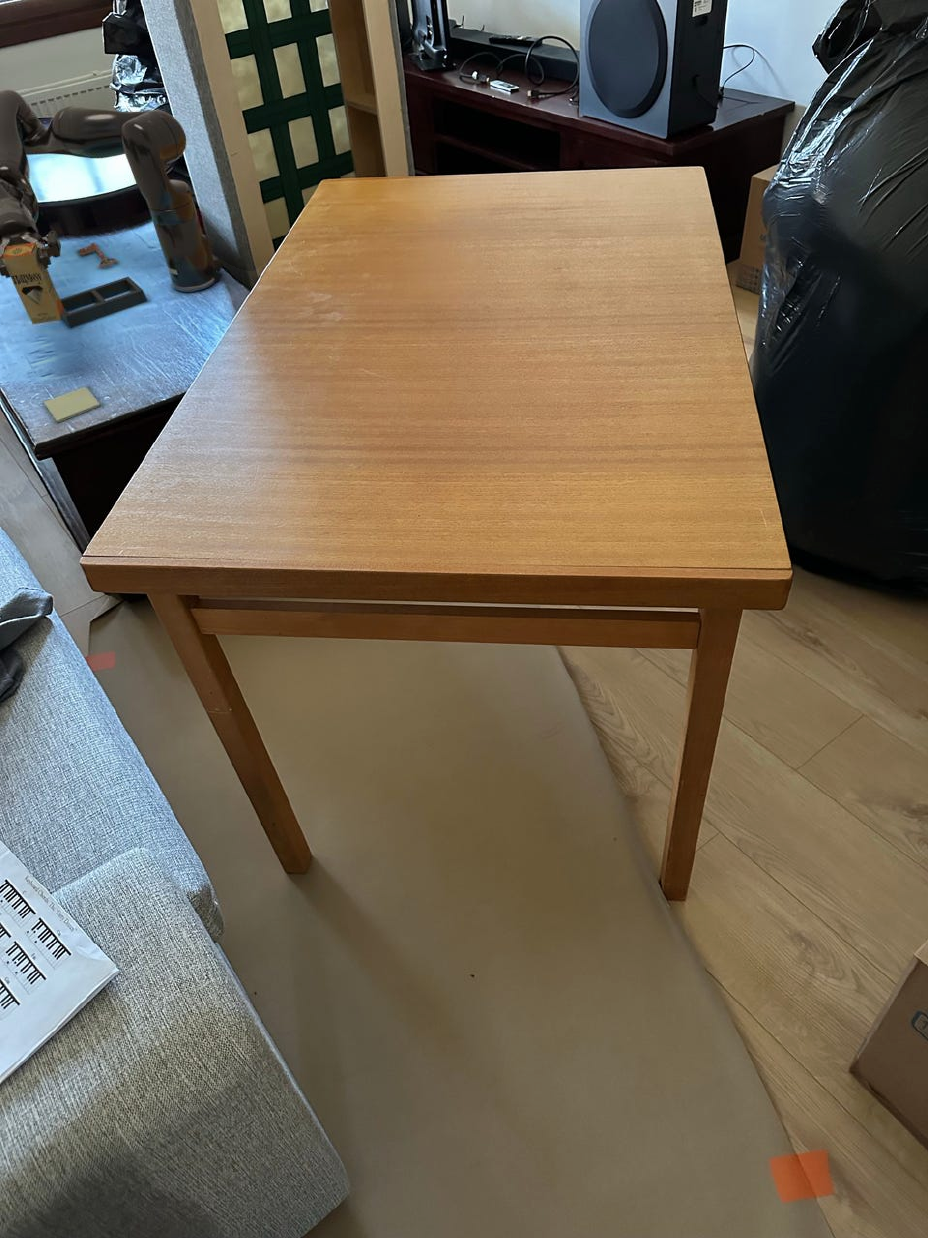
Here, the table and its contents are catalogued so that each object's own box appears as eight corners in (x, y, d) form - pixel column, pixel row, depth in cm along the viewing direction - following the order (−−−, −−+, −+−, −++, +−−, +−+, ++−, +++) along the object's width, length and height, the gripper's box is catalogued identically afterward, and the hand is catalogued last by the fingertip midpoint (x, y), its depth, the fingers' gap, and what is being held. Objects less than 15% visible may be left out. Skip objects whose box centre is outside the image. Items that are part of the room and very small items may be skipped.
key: (78, 251, 203) (94, 272, 194) (76, 248, 202) (92, 268, 193) (101, 242, 205) (118, 263, 195) (99, 239, 204) (116, 259, 195)
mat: (86, 388, 158) (85, 386, 158) (100, 406, 154) (99, 403, 153) (44, 404, 155) (43, 401, 155) (57, 422, 151) (56, 420, 150)
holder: (132, 287, 187) (128, 276, 185) (147, 300, 182) (143, 289, 180) (57, 312, 181) (52, 301, 179) (70, 327, 176) (65, 316, 174)
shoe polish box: (60, 319, 152) (31, 254, 144) (32, 324, 152) (1, 258, 143) (63, 307, 156) (35, 242, 147) (36, 311, 155) (6, 246, 146)
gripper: (64, 243, 160) (76, 278, 149) (-15, 262, 156) (-9, 299, 146) (47, 202, 155) (58, 235, 144) (-35, 221, 151) (-30, 256, 140)
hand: (24, 267), depth 145 cm, fingers closed on shoe polish box, 6 cm apart
